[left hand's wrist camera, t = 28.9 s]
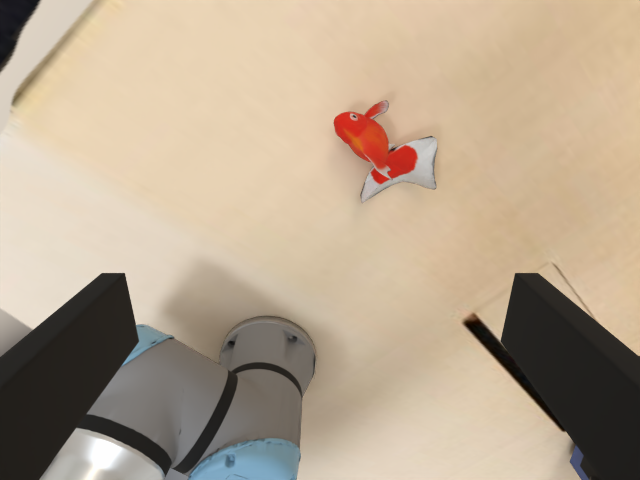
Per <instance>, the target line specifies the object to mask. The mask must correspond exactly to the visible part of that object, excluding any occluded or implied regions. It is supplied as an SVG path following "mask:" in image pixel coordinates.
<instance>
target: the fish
mask: <svg viewBox="0 0 640 480" xmlns="http://www.w3.org/2000/svg"><path fill="white" fill-rule="evenodd" d="M388 107H389V103H388V101H381V102H380V103H378V104H375V105H374V106H372V107H371V108H370V109H369V110H368V111H367V112H366V113H365V115H362V114H358V113H355V112H344V113H341V114H339V115H338V116H337V117H336V118H335V119H334V126H335V132H336V134H337V135H338V136H339V137H340V138H341V139H342V140H343V141H344V142H345V143H347V144H349V146H350V147H351V149H352V150H353V151H354V153H356V154H357V155H358V156H359V157H361V158H362V159H364V160H366V161H368V162H371V163H372V164H373V167H372V169H371V171H370V172H369V174H368V176H367V178H366V181H365V183H364V186H363V189H362V192H361V201H362V203H363V202H365V201H366V200H368V199H370V198H371V197H373V196H374V195H376V194H377V193H379V192H380V191H382V190H384V189H386V188H388V187H389V186H391V185H394V184H396V183H399V182H402V181H403V182H410V183H415V184H418V185H421V186H423V187H426V188H429V189H436V182H435V178H434V162H435V156H436V152H437V140H436V138H434V137H432V136H430V137H426V138H422V139H419V140H415V141H412V142H409V143H406V144H404V145H401V146H399V147H396V148H393V149H391V148H392V147H393V146H395V145H394V144H389V143H388V138H387V135H386V133H385V131H384V129H383V128H382V127H381V126H380V125H379V124H378V123H377V122H376V121H374V120H373V118H375V117H376V116H377V115H379V114H382V113H385V112H386V111H387V109H388ZM390 149H391V150H390ZM389 150H390V151H389Z"/></svg>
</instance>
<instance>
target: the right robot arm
mask: <svg viewBox="0 0 640 480" xmlns="http://www.w3.org/2000/svg"><path fill="white" fill-rule="evenodd" d="M580 467H581V468H582V470H583V471H584V473H585V474H586V476H587V477H588V479H589V480H601V479H600V477H599V476H598V474H597V473H596V472H595V470H594V469H593V468H592V466H591V465H590V463H589V462H588V461H587V459H586V458H585V457H584V456H583V459H582V461H581V464H580Z"/></svg>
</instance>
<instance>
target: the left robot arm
mask: <svg viewBox="0 0 640 480" xmlns="http://www.w3.org/2000/svg"><path fill="white" fill-rule="evenodd" d="M501 342H502V344H503V345H504V347H505V348H506V349H507V351H508V352H509V353H510V355H511V356H512V358H513V359H514V360H515V362H516V363H517V364H518V366H519V367H520V369H521V370H522V371H523V373H524V374H525V375H526V377H527V378H528V380H529V381H530V382H531V384H532V385H533V386H534V388H535V389H536V391H537V392H538V393H539V395H540V396H541V397H542V399H543V400H544V402H545V403H546V404H547V406H548V407H549V408H550V410H551V411H552V413H553V414H554V415H555V417H556V418H557V419H558V421H559V422H560V424H561V425H562V426H563V428H564V429H565V430H566V432H567V433H568V435H569V436H570V437H571V439H572V440H573V441H574V443H575V444H576V446H577V447H578V448H579V450H580V451H581V452H582V454H583V455H584V457H585V458H586V459H587V461H588V462H589V463H590V465H591V466H592V468H593V469H594V470H595V472H596V473H597V474H598V476H599V477H600V479H601V480H640V356H638V355H636V354H635V353H634V352H633V351H632V350H630V349H629V348H628V347H627V346H626V345H624V344H623V343H622V342H621V341H619V340H618V339H617V338H616V337H615V336H613V335H612V334H611V333H610V332H609V331H607V330H606V329H605V328H604V327H603V326H601V325H600V324H599V323H598V322H596V321H595V320H594V319H593V318H592V317H590V316H589V315H588V314H587V313H586V312H584V311H583V310H582V309H581V308H580V307H578V306H577V305H576V304H575V303H573V302H572V301H571V300H570V299H569V298H567V297H566V296H565V295H564V294H563V293H561V292H560V291H559V290H558V289H557V288H555V287H554V286H553V285H552V284H551V283H549V282H548V281H547V280H546V279H544V278H543V277H542V276H541V275H540V274H538V273H515V277H514V281H513V286H512V291H511V295H510V300H509V305H508V309H507V314H506V319H505V323H504V328H503V333H502V338H501ZM316 361H317V357H316V352H315V347H314V344H313V342H312V340H311V338H310V337H309V336H308V334H307V333H306V332H305V331H304V330H303V329H302V328H301V327H299V326H298V325H296V324H295V323H293V322H291V321H288V320H286V319H283V318H279V317H272V316H261V317H255V318H251V319H248V320H245V321H243V322H241V323H240V324H238V325H237V326H235V327H234V328H233V329H232V330H231V331H230V332H229V334H228V335H227V337H226V338H225V341H224V343H223V346H222V348H221V352H220V365H219V364H217V363H216V362H214V361H212V360H211V359H209V358H207V357H205V356H204V355H202V354H200V353H198V352H197V351H195V350H193V349H191V348H190V347H188V346H186V345H184V344H183V343H181V342H179V341H178V340H176V339H174V336H172V335H166V334H164V333H162V332H160V331H158V330H156V329H154V328H152V327H150V326H148V325H143V324H140V325H136V323H135V319H134V314H133V309H132V305H131V300H130V295H129V291H128V286H127V281H126V277H125V273H102V274H100V275H99V276H98V277H97V278H96V279H94V280H93V281H92V282H91V283H89V284H88V285H87V286H86V287H85V288H83V289H82V290H81V291H80V292H79V293H77V294H76V295H75V296H74V297H73V298H71V299H70V300H69V301H68V302H67V303H65V304H64V305H63V306H62V307H60V308H59V309H58V310H57V311H56V312H54V313H53V314H52V315H51V316H50V317H48V318H47V319H46V320H45V321H44V322H42V323H41V324H40V325H39V326H37V327H36V328H35V329H34V330H33V331H31V332H30V333H29V334H28V335H27V336H25V337H24V338H23V339H22V340H21V341H19V342H18V343H17V344H16V345H15V346H13V347H12V348H11V349H10V350H8V351H7V352H6V353H5V354H4V355H2V356H1V357H0V480H39V479H40V480H164V479H165V477H166V475H167V473H168V470H169V468H172V469H174V470H176V471H178V472H180V473H182V474H184V475H186V476H188V477H189V478H188V480H297V473H298V466H299V462H300V458H301V454H300V433H301V413H302V397H303V395H304V393H305V391H306V389H307V387H308V385H309V383H310V381H311V379H312V377H313V375H314V377H315V372H316ZM52 461H53V462H52ZM51 462H52V463H51ZM50 463H51V465H50ZM49 465H50V466H49ZM48 466H49V467H48ZM47 468H48V469H47ZM46 469H47V470H46ZM45 470H46V471H45ZM44 472H45V473H44ZM43 473H44V474H43ZM42 474H43V476H42ZM41 476H42V477H41ZM40 477H41V478H40Z"/></svg>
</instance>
